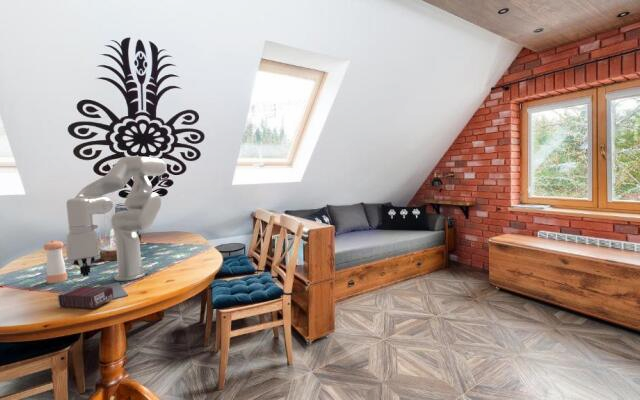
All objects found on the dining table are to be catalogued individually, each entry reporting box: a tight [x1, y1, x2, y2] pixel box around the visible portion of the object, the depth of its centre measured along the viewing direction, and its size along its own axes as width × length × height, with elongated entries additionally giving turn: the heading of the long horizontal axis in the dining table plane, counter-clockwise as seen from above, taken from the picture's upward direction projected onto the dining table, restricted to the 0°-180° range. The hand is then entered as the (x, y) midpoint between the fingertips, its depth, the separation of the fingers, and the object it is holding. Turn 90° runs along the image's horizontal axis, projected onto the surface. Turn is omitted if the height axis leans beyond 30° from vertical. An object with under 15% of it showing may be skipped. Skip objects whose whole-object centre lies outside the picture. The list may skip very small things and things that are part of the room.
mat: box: [96, 281, 129, 301], centre depth 127 cm, size 14×20×1 cm
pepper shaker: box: [43, 239, 68, 284], centre depth 143 cm, size 7×7×19 cm
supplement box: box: [56, 285, 115, 309], centre depth 117 cm, size 9×5×16 cm
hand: (85, 275), depth 123 cm, fingers closed
